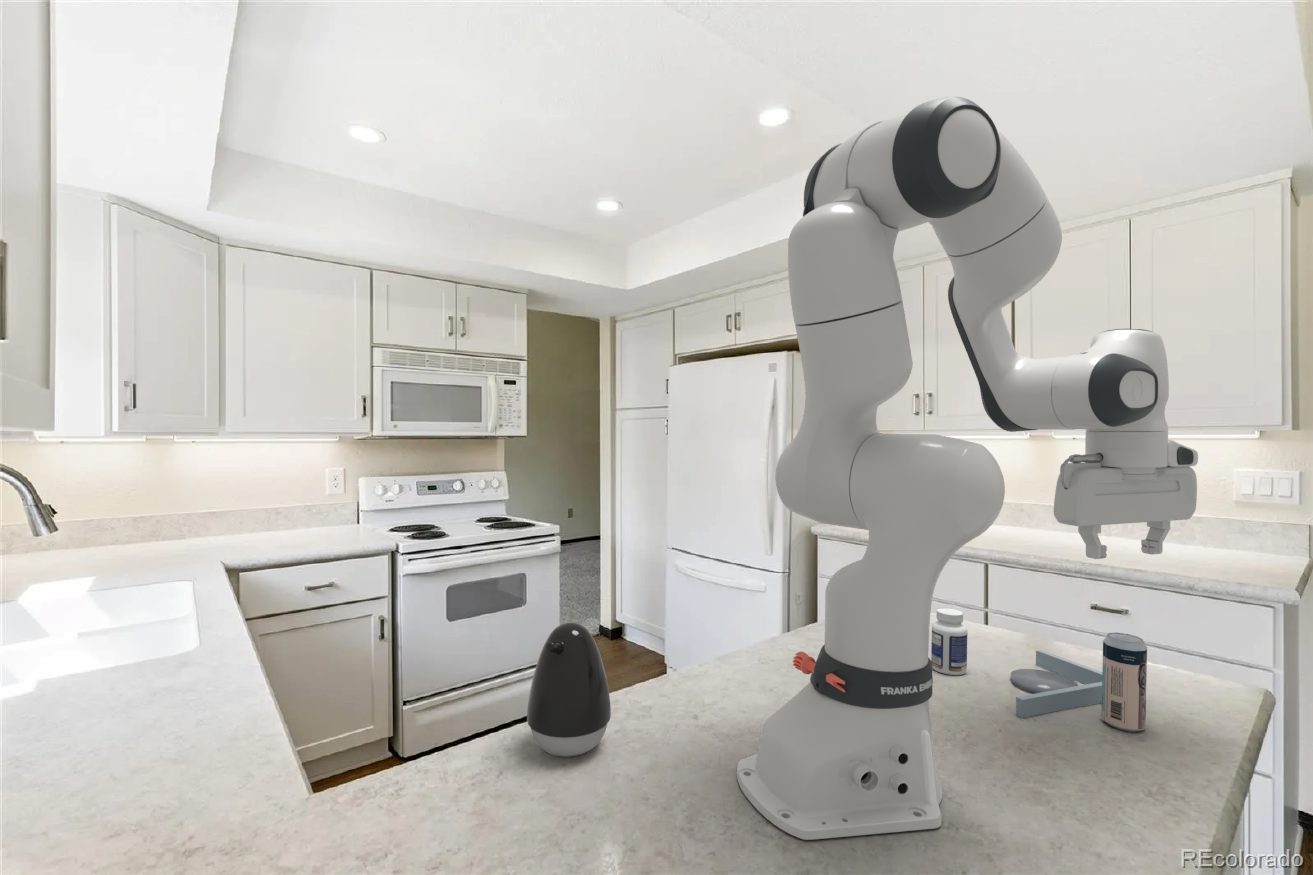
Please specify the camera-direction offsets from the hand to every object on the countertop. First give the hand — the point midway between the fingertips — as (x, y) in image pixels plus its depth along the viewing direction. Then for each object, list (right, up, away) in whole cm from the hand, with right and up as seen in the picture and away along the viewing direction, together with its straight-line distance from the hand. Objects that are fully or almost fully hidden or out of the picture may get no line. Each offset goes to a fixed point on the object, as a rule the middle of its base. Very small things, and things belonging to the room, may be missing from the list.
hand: (1124, 555), depth 84 cm
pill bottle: (-14, -23, +20) cm, 34 cm away
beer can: (0, -23, +1) cm, 23 cm away
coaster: (-2, -23, +14) cm, 27 cm away
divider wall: (-3, -23, +13) cm, 27 cm away
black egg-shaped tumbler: (-74, -22, -7) cm, 77 cm away
